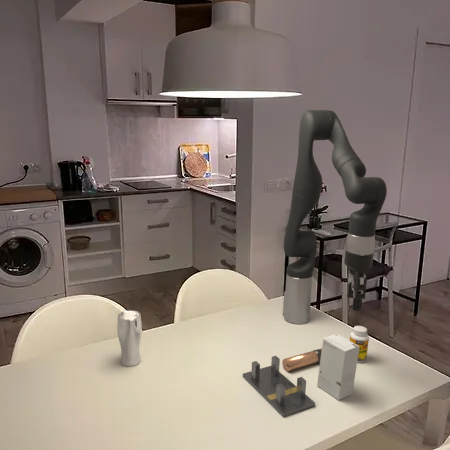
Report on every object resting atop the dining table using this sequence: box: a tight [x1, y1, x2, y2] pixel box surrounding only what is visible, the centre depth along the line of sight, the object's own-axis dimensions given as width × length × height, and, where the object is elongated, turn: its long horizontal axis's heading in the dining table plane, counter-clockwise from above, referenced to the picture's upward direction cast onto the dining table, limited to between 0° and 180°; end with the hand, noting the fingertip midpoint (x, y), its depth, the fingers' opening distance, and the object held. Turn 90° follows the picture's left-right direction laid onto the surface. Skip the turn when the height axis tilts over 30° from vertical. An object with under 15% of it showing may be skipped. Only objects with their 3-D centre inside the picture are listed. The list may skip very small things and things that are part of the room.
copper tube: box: [281, 347, 322, 372], centre depth 139 cm, size 17×4×4 cm, turn 118°
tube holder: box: [242, 355, 316, 418], centre depth 125 cm, size 20×10×6 cm, turn 28°
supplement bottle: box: [349, 325, 370, 364], centre depth 142 cm, size 6×6×10 cm
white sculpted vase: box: [117, 310, 143, 367], centre depth 137 cm, size 7×7×15 cm
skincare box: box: [316, 333, 359, 401], centre depth 125 cm, size 8×6×15 cm
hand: (353, 303), depth 132 cm, fingers open, 8 cm apart
